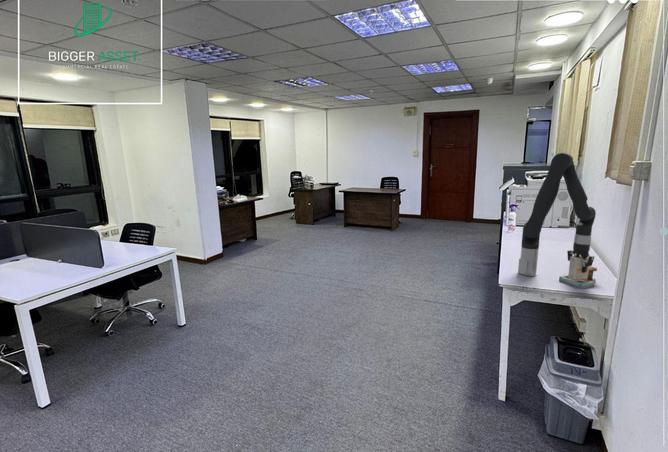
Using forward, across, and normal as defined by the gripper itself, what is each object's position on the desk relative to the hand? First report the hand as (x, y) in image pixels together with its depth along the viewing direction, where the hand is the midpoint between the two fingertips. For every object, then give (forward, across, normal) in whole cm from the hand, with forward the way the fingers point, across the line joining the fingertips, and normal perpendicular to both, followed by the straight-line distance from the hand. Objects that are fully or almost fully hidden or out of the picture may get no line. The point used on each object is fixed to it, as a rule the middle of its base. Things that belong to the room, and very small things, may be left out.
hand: (578, 270), depth 189 cm
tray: (+8, 0, 0) cm, 8 cm away
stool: (+8, 0, +10) cm, 12 cm away
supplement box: (+5, 0, 0) cm, 5 cm away
